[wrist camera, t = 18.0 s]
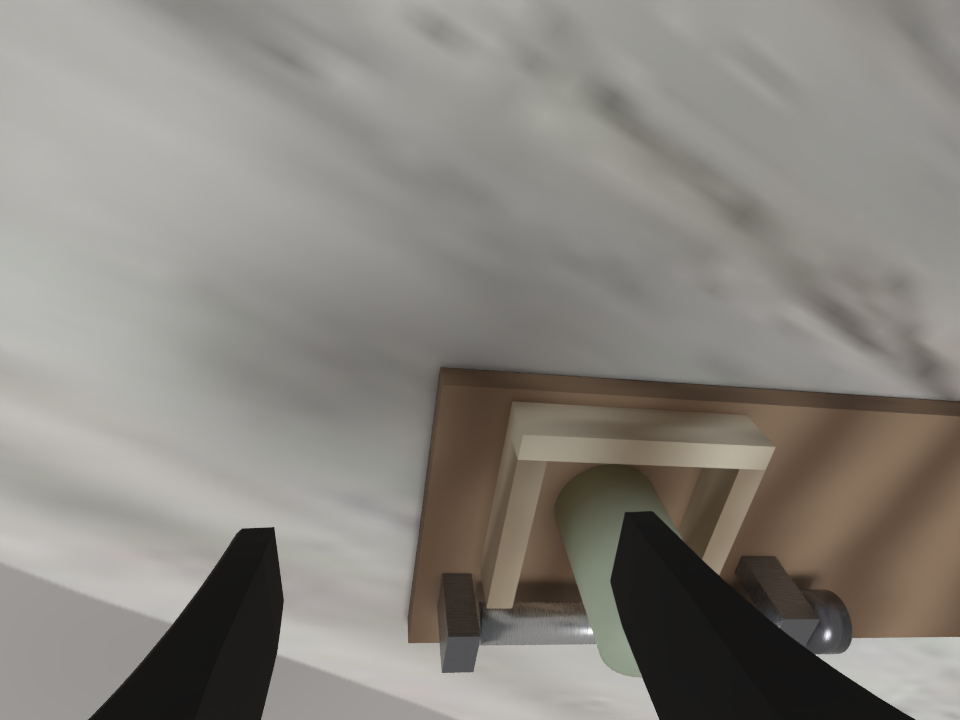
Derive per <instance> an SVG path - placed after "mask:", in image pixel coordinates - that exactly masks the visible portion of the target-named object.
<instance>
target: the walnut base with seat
mask: <svg viewBox="0 0 960 720" xmlns="http://www.w3.org/2000/svg"><path fill="white" fill-rule="evenodd" d="M607 464H622V465H627V466H631V467H633V468H636V469H637V470H639V471H641V472H642V473H643V474H645V475H646V477H647V478H648V479H649V481H650V482H651V484H652V486H653V487H654V489H655V491H656V493H657V495H658V496H659V498H660V500H661V502H662V504H663V505H664V507H665V509H666V511H667V513H668V514H669V516H670V518H671V520H672V521H673V523H674V525H675V527H676V529H677V530H678V532H679V534H680V536H681V538H682V539H683V541H684V542H685V543H686V544H687V545H688V546H689V547H690V548H691V549H692V550H693V551H694V552H695V553H696V554H697V555H698V556H699V557H700V558H701V559H702V560H703V561H704V562H705V563H706V564H707V565H708V566H709V567H710V568H712V569H713V570H714V571H715V572H716V573H717V574H718V575H719V576H720V577H721V578H722V579H723V580H724V581H725V582H727V583H728V584H729V585H730V586H731V587H732V588H733V589H734V590H735V591H737V592H738V593H739V594H740V595H741V596H742V597H743V598H744V599H746V600H747V601H752V600H751V598H750V597H749V595H748V594H747V592H746V590H745V589H744V587H743V586H742V584H741V582H740V581H739V579H738V578H737V576H736V574H735V573H734V572H735V569H736V567H737V565H738V563H739V561H740V558H741V556H775V557H776V558H777V559H778V561H779V562H780V564H781V565H782V566H783V568H784V569H785V571H786V572H787V573H788V575H789V576H790V578H791V579H792V580H793V582H794V583H795V585H796V586H797V587H798V589H825V590H829V591H832V592H834V593H835V594H836V595H837V596H838V597H839V598H840V599H841V600H842V601H843V603H844V604H845V606H846V608H847V610H848V612H849V615H850V618H851V623H852V638H887V637H960V402H952V401H937V400H922V399H907V398H892V397H877V396H862V395H847V394H832V393H817V392H802V391H787V390H771V389H756V388H741V387H726V386H711V385H696V384H681V383H666V382H651V381H636V380H621V379H606V378H591V377H576V376H561V375H546V374H531V373H516V372H501V371H486V370H471V369H455V368H440V375H439V383H438V391H437V399H436V406H435V414H434V422H433V429H432V437H431V445H430V452H429V460H428V468H427V475H426V483H425V491H424V499H423V506H422V514H421V522H420V529H419V537H418V545H417V552H416V560H415V568H414V576H413V583H412V591H411V599H410V606H409V614H408V643H440V641H439V628H438V615H437V604H438V598H439V592H440V585H441V579H442V573H472V580H473V587H474V594H475V601H476V608H477V605H478V602H479V601H485V603H486V609H494V608H512V606H513V602H514V601H582V598H581V595H580V592H579V589H578V586H577V583H576V580H575V577H574V574H573V571H572V567H571V564H570V561H569V558H568V555H567V552H566V549H565V546H564V543H563V540H562V537H561V534H560V531H559V528H558V525H557V522H556V519H555V504H556V501H557V498H558V496H559V494H560V492H561V491H562V489H563V488H564V487H565V486H566V484H567V483H568V482H569V481H571V480H572V479H573V478H574V477H576V476H577V475H578V474H580V473H582V472H584V471H586V470H588V469H590V468H593V467H597V466H601V465H607Z"/></svg>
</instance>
